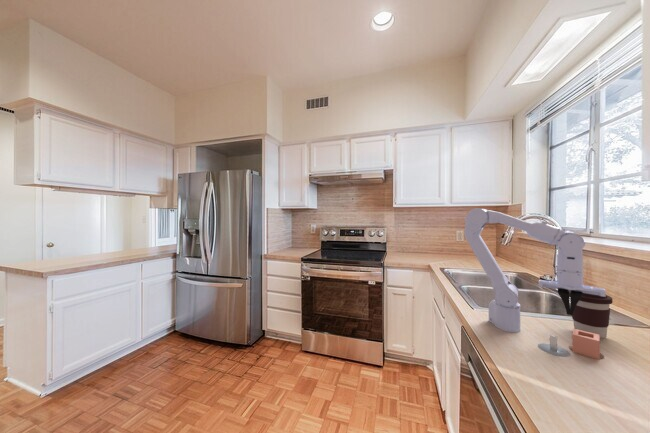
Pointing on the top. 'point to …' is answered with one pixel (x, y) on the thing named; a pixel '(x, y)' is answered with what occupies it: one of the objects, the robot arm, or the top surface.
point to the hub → (585, 355)
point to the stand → (554, 348)
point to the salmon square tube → (586, 343)
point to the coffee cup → (592, 314)
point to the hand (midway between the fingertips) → (569, 314)
